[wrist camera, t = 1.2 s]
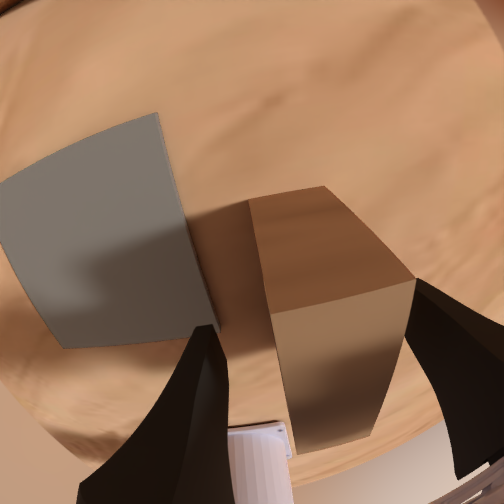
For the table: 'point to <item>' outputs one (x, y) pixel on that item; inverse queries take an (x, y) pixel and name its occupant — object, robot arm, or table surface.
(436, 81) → the table surface
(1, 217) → the felt mat
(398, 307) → the brown rectangular block
